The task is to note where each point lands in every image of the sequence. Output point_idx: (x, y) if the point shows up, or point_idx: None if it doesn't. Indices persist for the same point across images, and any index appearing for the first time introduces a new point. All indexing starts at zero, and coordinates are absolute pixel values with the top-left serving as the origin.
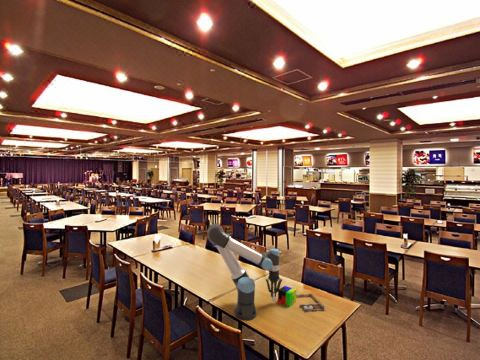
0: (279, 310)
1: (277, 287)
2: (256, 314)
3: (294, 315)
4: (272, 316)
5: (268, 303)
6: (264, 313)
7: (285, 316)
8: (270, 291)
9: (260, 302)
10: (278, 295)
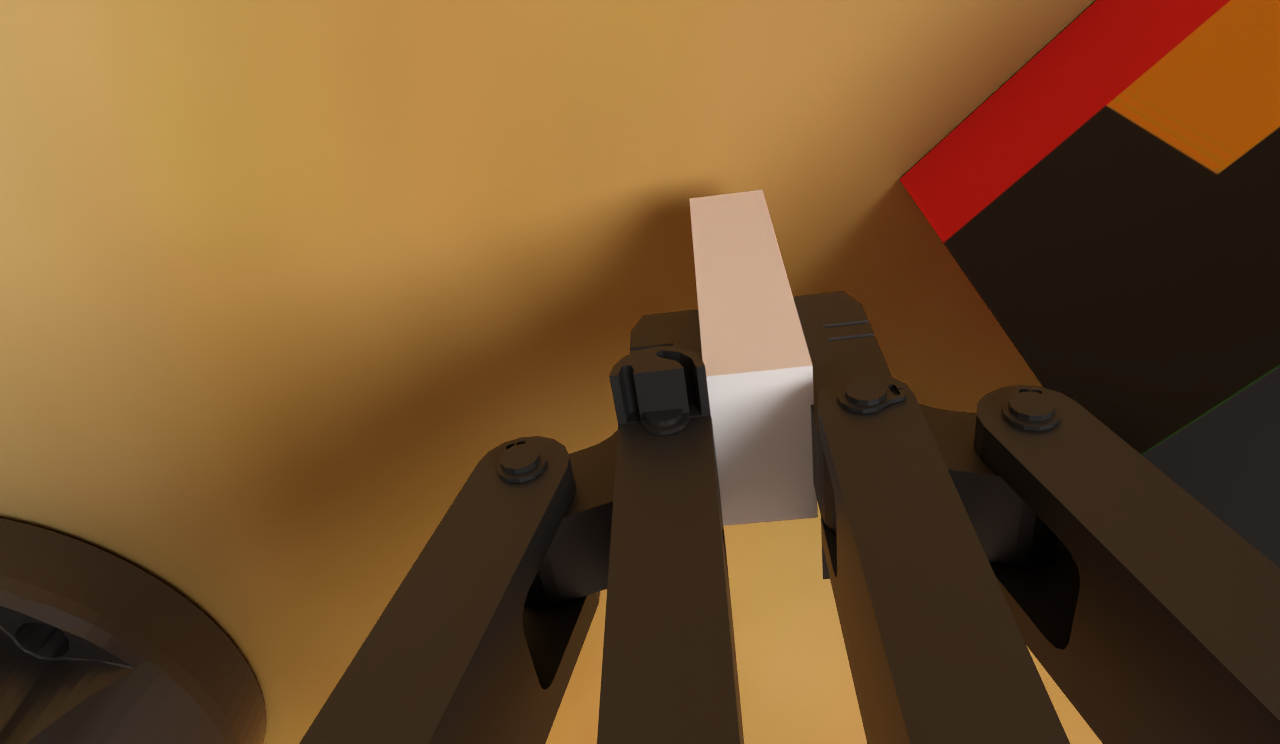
0: (804, 555)
1: (1097, 648)
2: (258, 731)
3: (1063, 703)
4: (592, 727)
5: (565, 221)
6: None
7: (857, 727)
8: (580, 602)
9: (290, 159)
10: (1000, 315)
